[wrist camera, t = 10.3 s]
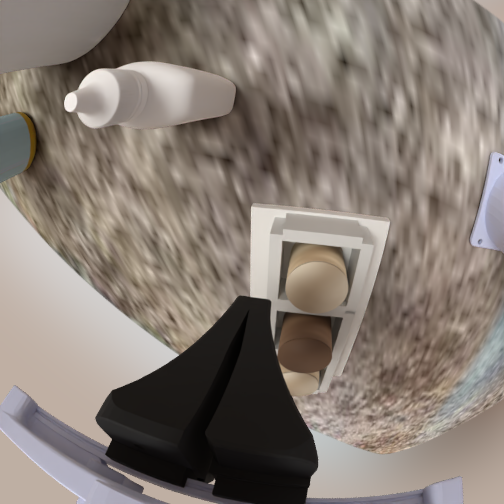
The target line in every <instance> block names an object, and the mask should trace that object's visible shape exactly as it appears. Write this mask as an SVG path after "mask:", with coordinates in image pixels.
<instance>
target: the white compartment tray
mask: <svg viewBox="0 0 504 504" xmlns="http://www.w3.org/2000/svg"><path fill="white" fill-rule="evenodd" d="M389 226H390V221H389V219H388V218H386V217H379V216H372V215H364V214H356V213H348V212H340V211H331V210H322V209H313V208H303V207H293V206H282V205H271V204H259V203H253V205H252V206H251V278H250V297H255V298H263V299H269V300H270V301H271V302H272V303H271V317H270V319H271V329H272V335H273V341H274V345H275V350H276V354H278V348H279V342H280V336H281V330H282V323H283V317H284V314H285V312H292V313H301V314H311V315H320V316H331V329H332V360H331V362H330V364H329V365H328V366H327V367H326V368H324V369H322V370H320V371H319V386H318V389H317V390H316V391H315V392H314V393H312V394H318V392H322V393H326V392H327V389H328V387H329V384H330V382H331V379H332V377H333V376H341V374H342V372H343V369H344V367H345V365H346V362H347V360H348V357H349V355H350V352H351V350H352V347H353V344H354V342H355V339H356V336H357V334H358V331H359V328H360V325H361V323H362V320H363V317H364V314H365V311H366V308H367V305H368V302H369V299H370V296H371V293H372V289H373V286H374V283H375V279H376V276H377V273H378V269H379V265H380V262H381V258H382V254H383V250H384V247H385V243H386V239H387V234H388V230H389ZM295 242H299V243H309V244H318V245H327V246H336V247H341V248H342V251H343V256H344V262H345V268H346V274H347V281H348V293H347V296H346V298H345V300H344V301H343V302H342V304H341V305H339V306H338V307H337V308H335V309H333V310H331V311H329V312H325V313H308V312H304V311H302V310H300V309H298V308H296V307H295V306H294V305H293V304H292V303H291V302H290V301H289V299H288V297H287V295H286V290H285V286H286V280H287V273H288V267H289V260H290V253H291V249H292V247H293V245H294V244H295Z"/></svg>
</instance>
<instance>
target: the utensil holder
mask: <svg viewBox="0 0 504 504" xmlns="http://www.w3.org/2000/svg"><path fill="white" fill-rule="evenodd" d="M129 1H130V0H0V74H2V73H7V72H12V71H18V70H24V69H30V68H35V67H42V66H50V65H57V64H63V63H67V62H71V61H73V60H75V59H77V58H79V57H81V56H83V55H84V54H86V53H87V52H89V51H90V50H91V49H92V48H94V47H95V46H96V45H97V44H98V43H99V42H100V41H101V40H102V39H103V38H104V37H105V36H106V35H107V33H108V32H109V31H110V30H111V29H112V28H113V26H114V25H115V24H116V22H117V21H118V19H119V18H120V17H121V15H122V13H123V12H124V10H125V9H126V7H127V5H128V3H129Z"/></svg>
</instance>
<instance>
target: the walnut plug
mask: <svg viewBox="0 0 504 504" xmlns="http://www.w3.org/2000/svg"><path fill="white" fill-rule="evenodd" d="M277 357H278V361H279V363H280V364H281V365H282V366H283V367H285V368H286V369H288V370H290V371H293V372H297V373H314V372H317V371H320V370H322V369H324V368H326V367H327V366H328V365H329V364H330V362H331V360H332V329H331V316H320V315H311V314H301V313H292V312H285V314H284V317H283V323H282V330H281V336H280V342H279V348H278V354H277Z"/></svg>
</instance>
